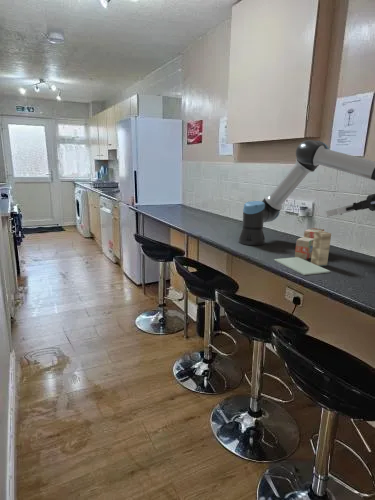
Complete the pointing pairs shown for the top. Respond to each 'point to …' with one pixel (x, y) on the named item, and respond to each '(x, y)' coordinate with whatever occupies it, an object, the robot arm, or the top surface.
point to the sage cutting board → (302, 266)
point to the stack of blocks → (306, 244)
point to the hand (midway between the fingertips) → (332, 212)
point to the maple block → (320, 248)
